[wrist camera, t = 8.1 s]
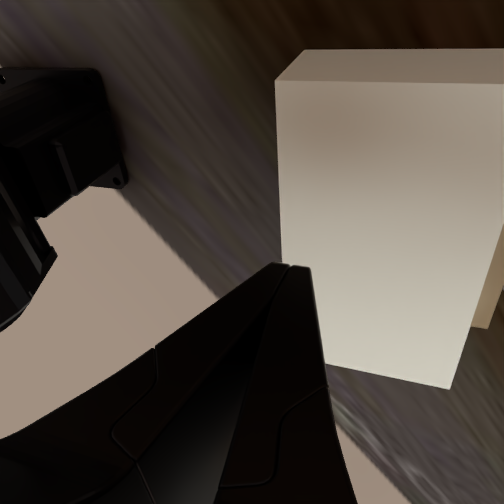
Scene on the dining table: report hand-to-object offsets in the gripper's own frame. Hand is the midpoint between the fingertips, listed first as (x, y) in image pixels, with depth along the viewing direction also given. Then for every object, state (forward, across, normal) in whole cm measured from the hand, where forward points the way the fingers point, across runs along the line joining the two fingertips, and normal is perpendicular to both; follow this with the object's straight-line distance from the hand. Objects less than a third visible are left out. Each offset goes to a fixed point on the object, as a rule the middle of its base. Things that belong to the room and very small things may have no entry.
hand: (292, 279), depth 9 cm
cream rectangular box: (+12, -2, +5) cm, 13 cm away
